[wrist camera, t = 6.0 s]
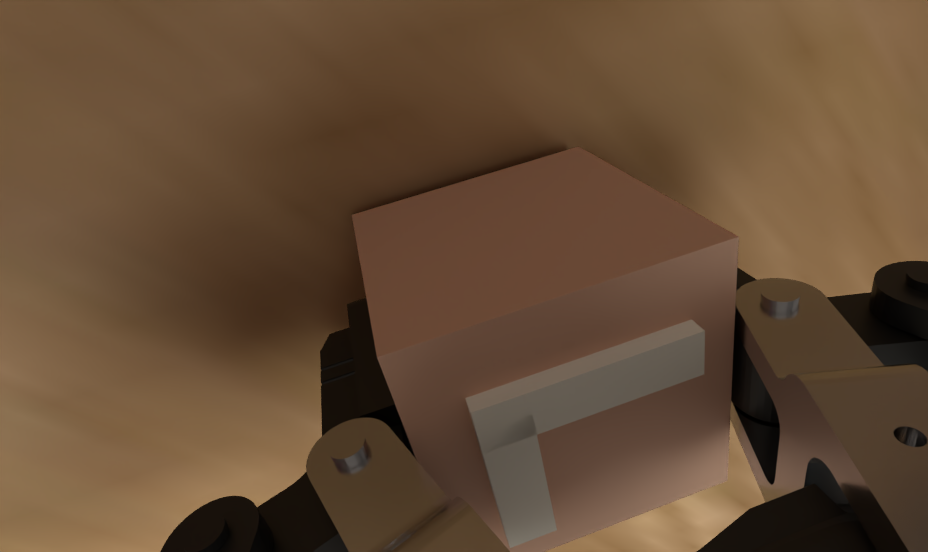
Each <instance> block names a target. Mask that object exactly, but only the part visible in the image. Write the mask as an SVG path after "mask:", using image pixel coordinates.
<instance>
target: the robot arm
mask: <svg viewBox="0 0 928 552" xmlns="http://www.w3.org/2000/svg"><path fill="white" fill-rule="evenodd" d="M347 308H348V316H349V325H350V328H347V329H344V330H341V331H338V332H335V333H331V334H330V335H329V337H328V338H327V340H326V342H325V344H324V346H323V348H322V349H321V351H320V359H321V383H322V386H321V406H322V437H321V438H320V439H319V440H318V441H317V442H316V444H315V445H314V446H313V448H312V449H311V451H310V453H309V456H308V459H307V464H306V471H307V472H306V473H305V474H304V475H303V476H302V477H301V478H300V479H298V480H297V481H296V482H295V483H294V484H292V485H291V486H289V487H288V488H287V489H285V490H284V491H282V492H280V493H279V494H277V495H276V496H274V497H273V498H271V499H269V500H268V501H266V502H265V503H263V504H262V505H260V506H258V507H256V506H255V504H254V503H253V502H252V501H251V500H249V499H247V498H245V497H242V496H227V497H223V498H219V499H217V500H214V501H211V502H209V503H207V504H205V505H203V506H202V507H200V508H199V509H197V510H195V511H194V512H193V513H192V514H190V515H189V516H188V517H187V518H185V519H184V520H183V521H182V522H181V523H180V524H179V525H178V526H177V527H176V529H175V530H174V531H173V532H172V534H171V535H170V536H169V538H168V539H167V541H166V543H165V544H164V546H163V548H162V550H161V552H510V551H509V550H508V548H507V547H506V546H505V545H504V544H503V543H502V542H501V540H500V539H499V538H498V537H497V536H496V535H495V534H494V532H493V531H492V530H491V529H490V528H489V527H488V526H487V524H486V523H485V522H484V521H483V520H482V519H481V518H480V516H479V515H478V514H477V513H476V512H475V511H474V510H473V508H472V507H471V506H470V505H469V504H468V503H467V502H466V501H465V500H463V499H462V498H460V497H456V498H454V499H453V500H451V499H450V498H449V497H448V496H447V495H446V494H445V493H444V492H443V490H442V489H441V488H440V487H439V486H438V485H437V483H436V482H435V481H434V480H433V479H432V477H431V476H430V475H429V474H428V473H427V471H426V470H425V469H424V468H423V467H422V465H421V464H420V463H419V462H418V461H417V460H416V457H415V455H414V452H413V449H412V447H411V444H410V442H409V439H408V437H407V434H406V431H405V429H404V426H403V424H402V421H401V418H400V416H399V413H398V411H397V408H396V405H395V403H394V400H393V398H392V395H391V392H390V390H389V387H388V385H387V382H386V379H385V377H384V374H383V372H382V369H381V366H380V364H379V361H378V359H377V355H376V349H375V343H374V338H373V332H372V326H371V321H370V315H369V310H368V304H367V298H364V299H361V300H358V301H355V302H352V303H349V304H347ZM730 420H731V422H732V424H733V427H734V429H735V432H736V434H737V436H738V439H739V441H740V443H741V446H742V448H743V450H744V453H745V455H746V457H747V460H748V462H749V464H750V467H751V469H752V471H753V474H754V476H755V478H756V481H757V483H758V486H759V488H760V490H761V493H762V495H763V497H764V500H765V503H763V504H761V505H758V506H756V507H753V508H751V509H749V510H748V511H747V512H745V513H744V514H743V515H742V516H740V517H739V518H738V519H737V520H735V521H734V522H733V523H732V524H731V525H729V526H728V527H727V528H726V529H724V530H723V531H722V532H721V533H720V534H718V535H717V536H716V537H715V538H713V539H712V540H711V541H710V542H709V543H707V544H706V545H705V546H704V547H702V548H701V549H700V550H698V551H697V552H928V262H926V261H906V262H898V263H893V264H890V265H887V266H884V267H883V268H881V269H879V270H878V271H877V272H876V274H875V277H874V282H873V287H872V292H871V293H862V294H853V295H844V296H836V297H826V296H825V295H824V294H823V293H822V292H821V291H820V290H818V289H817V288H815V287H813V286H811V285H809V284H806V283H803V282H800V281H796V280H791V279H783V278H767V279H760V280H756V279H755V278H753V277H751V276H750V275H748V274H747V273H745V272H744V271H742V270H741V269H739V268H737V284H736V306H735V327H734V348H733V369H732V390H731V411H730Z"/></svg>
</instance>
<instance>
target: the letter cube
mask: <svg viewBox="0 0 928 552" xmlns="http://www.w3.org/2000/svg"><path fill="white" fill-rule="evenodd" d="M352 220H353V225H354V231H355V237H356V242H357V248H358V254H359V259H360V265H361V270H362V276H363V282H364V287H365V293H366V298H367V304H368V310H369V315H370V321H371V326H372V332H373V338H374V343H375V349H376V355H377V359H378V361H379V364H380V366H381V369H382V372H383V374H384V377H385V379H386V382H387V385H388V387H389V390H390V392H391V395H392V398H393V400H394V403H395V405H396V408H397V411H398V413H399V416H400V418H401V421H402V424H403V426H404V429H405V431H406V434H407V437H408V439H409V442H410V444H411V447H412V449H413V452H414V455H415V457H416V460H417V461H418V462H419V463H420V464H421V465H422V467H423V468H424V469H425V470H426V471H427V473H428V474H429V475H430V476H431V477H432V479H433V480H434V481H435V482H436V483H437V485H438V486H439V487H440V488H441V489H442V490H443V492H444V493H445V494H446V495H447V496H448V497H449V498H450V499H451V500H453V499H454V498H456V497H460V498H462V499H463V500H465V501H466V502H467V503H468V504H469V505H470V506H471V507H472V508H473V510H474V511H475V512H476V513H477V514H478V515H479V516H480V518H481V519H482V520H483V521H484V522H485V523H486V524H487V526H488V527H489V528H490V529H491V530H492V531H493V532H494V534H495V535H496V536H497V537H498V538H499V539H500V540H501V542H502V543H503V544H504V545H505V546H506V547H507V548H508V550H509V551H510V552H545V551H547V550H550V549H552V548H555V547H557V546H560V545H563V544H565V543H568V542H570V541H573V540H575V539H578V538H581V537H583V536H586V535H588V534H591V533H594V532H596V531H599V530H601V529H604V528H606V527H609V526H612V525H614V524H617V523H619V522H622V521H625V520H627V519H630V518H632V517H635V516H637V515H640V514H643V513H645V512H648V511H650V510H653V509H656V508H658V507H661V506H663V505H666V504H668V503H671V502H674V501H676V500H679V499H681V498H684V497H687V496H689V495H692V494H694V493H697V492H699V491H702V490H705V489H707V488H710V487H712V486H715V485H717V484H720V483H723V482H725V481H727V475H728V453H729V432H730V411H731V390H732V369H733V348H734V327H735V306H736V284H737V263H738V242H739V237H738V236H736V235H735V234H733V233H731V232H729V231H728V230H726V229H724V228H722V227H721V226H719V225H717V224H715V223H713V222H712V221H710V220H708V219H706V218H705V217H703V216H701V215H699V214H698V213H696V212H694V211H692V210H690V209H689V208H687V207H685V206H683V205H682V204H680V203H678V202H676V201H675V200H673V199H671V198H669V197H667V196H666V195H664V194H662V193H660V192H659V191H657V190H655V189H653V188H651V187H650V186H648V185H646V184H644V183H643V182H641V181H639V180H637V179H636V178H634V177H632V176H630V175H628V174H627V173H625V172H623V171H621V170H620V169H618V168H616V167H614V166H613V165H611V164H609V163H607V162H605V161H604V160H602V159H600V158H598V157H597V156H595V155H593V154H591V153H589V152H588V151H586V150H584V149H582V148H581V147H579V146H578V147H575V148H572V149H568V150H565V151H562V152H558V153H555V154H552V155H549V156H545V157H542V158H539V159H535V160H532V161H529V162H525V163H522V164H519V165H515V166H512V167H509V168H505V169H502V170H499V171H496V172H492V173H489V174H486V175H482V176H479V177H476V178H472V179H469V180H466V181H462V182H459V183H456V184H452V185H449V186H446V187H443V188H439V189H436V190H433V191H429V192H426V193H423V194H419V195H416V196H413V197H409V198H406V199H403V200H399V201H396V202H393V203H390V204H386V205H383V206H380V207H376V208H373V209H370V210H366V211H363V212H360V213H356V214H353V215H352Z"/></svg>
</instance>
